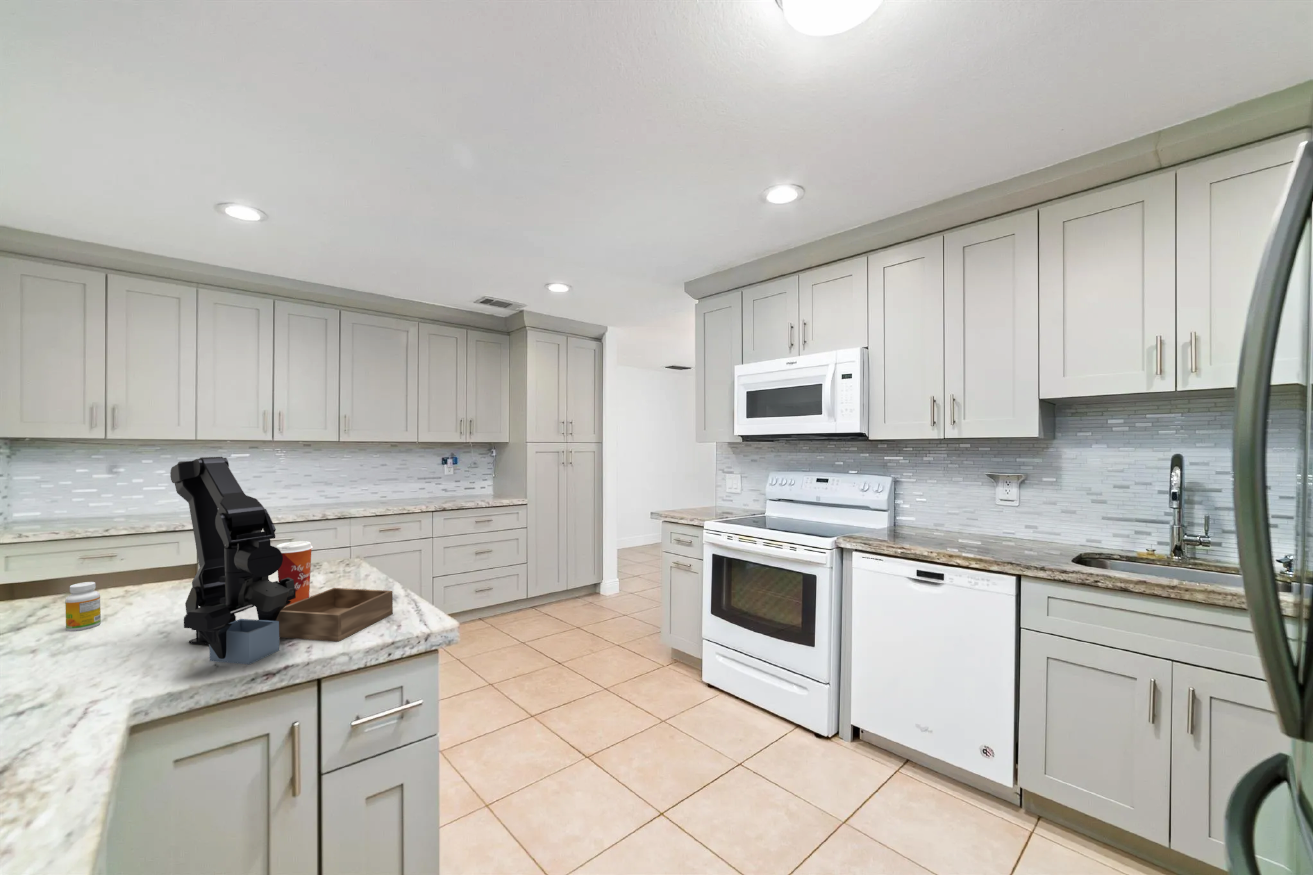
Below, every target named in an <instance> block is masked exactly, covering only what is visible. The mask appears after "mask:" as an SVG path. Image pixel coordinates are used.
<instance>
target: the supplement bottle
mask: <svg viewBox="0 0 1313 875" xmlns="http://www.w3.org/2000/svg"><path fill="white" fill-rule="evenodd" d="M69 593H71V594H69V595H68V596H66V597H65V603H64V604H65V605H64V606H65V630H66V631H69V632H79V631H83V630H88V629H92V628H95V627H97V626H99V625H100V624H101V622H102V619H101V618H102V617H101V594H100V592H99V591H97V590H96V582H94V581H85V582H78V583H75V584H72V585H70V586H69Z"/></svg>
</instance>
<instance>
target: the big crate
mask: <svg viewBox="0 0 1313 875" xmlns="http://www.w3.org/2000/svg"><path fill="white" fill-rule="evenodd" d="M393 599H394V598H393V590H384V589H383V590H382V589H381V590H380V589H366V588H365V589H364V588H363V589H362V588H347V587H346V588H345V587H342V588H341V587H332V588H329V589H327V590H325V591H322V592H319V593H317V594H314V595H311V596H309V597H308V598H306V599H303V600H300V601H298V602H295V603H293V604H290V605H287V606H285V607H284V608H283V609H282V610H281V611H280V612H279V615H278V617H277V619H276V621H279V638H285V639H297V640H310V641H311V640H313V641H314V640H315V641H327V642H341V641H342V640H344V639H346V638H349V637H350V636H351V635H354V634H356V633H358V632H360V631H362V630H363V629H366V628H367V627H370V626H372V625H374V624H376V623H377V622H379V621H381V620H384V619H385V618H387V617H390V616H391V615H393V613H394V609H393V608H394V606H393V604H394V603H393V602H394V601H393Z"/></svg>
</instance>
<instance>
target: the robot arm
mask: <svg viewBox="0 0 1313 875" xmlns="http://www.w3.org/2000/svg"><path fill="white" fill-rule="evenodd" d="M169 473H170V474H169V475H170V481H171V483H172V484H174V487H175V491H176V494H177V495H179V497H181V498H182V499H183V500H185V501H186V502H187V503H188V507H189V508H188V509H189V513H190V520H191V525H192V530H193V535H194V541H195V542H194V543H195V548H196V552H197V553H196V554H197V559H198V564H199V568H198V570H197V572H196V574H194V575H195V576H194V577H193V579H192V582H191V586H192V587H191V589H190V590H189V593H188V596H187V598H186V600H185V612H186V614H185V616H183V628H184V629H191V631H195V638H192V639H190V640H188V644H192V645H193V644H195V645H206V646H207V645H208V646H209V645H210V646H211V648H212V649H213V650H214V652H215V653H216V655H217V656H218V658H219V659H224V658H225V657H226V633H227V630H228V629H229V628H230V626H231V625H232V624H230V623H231V622H233V621H236V620H237V616H236V614H237V613H240V611H241V612H243V611H246V610H248V609H251V608H252V607H255V609H256V614H257V618H258V619H257V620H268V621H276V619H277V617H278V615H279V612H280V611H281V610H282V609H283V608H284V607H285V606H286V605H288V604H290V602H291V601H289V600H292V599H295V598H296V589H295V586H294V580H293V579H291V578H289V577H288V578H285V579H282V580H280V581H279V580H275V581H270V579H269V576H272V575H274V574H276V572H278V569H279V568H280V567H281V565H282V562H283V555H282V554H281V552H280V550H279V549H278V548H276V546H273V545H271V543H272V542H271V540H272V539H275V538H276V534H275V533H276V530H277V529H276V526H275V524H274V522H273V520H272V518H271V516H270V514H269V511H268V510H267V508H265V507H264V505H263V504H262V503H261V502H260V501H259V500H258V499H257V498H255V497H252V496H249V495H247V494H246V493H245V492H244V490H243V489H242V487H241V485H240V483H239V482H238V480H237V479H236V477H235V475H234V474H233V472H232V470H231V469H230V463H229V460H228V458H227V457H223V456H209V457H208V456H207V457H206V456H205V457H200V458H195V459H194V460H184V461H178V462H177V464H175V465H173V466H171V469H170V472H169ZM239 606H240V607H239ZM236 607H237V608H236ZM245 609H246V610H245ZM242 610H243V611H242Z"/></svg>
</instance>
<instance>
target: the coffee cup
mask: <svg viewBox="0 0 1313 875" xmlns="http://www.w3.org/2000/svg"><path fill="white" fill-rule="evenodd" d="M275 547H276V548H278V549H279V550H280V552H281V554H282V555H283V562H282V565H281V567H280V568H279V569H278V570H277V581H278V582H279V581H280V580H282V579H285V578H288V577H289V578H291V579H293V580H294V586H295V589H296V598H295V599H292V600H289V601H291V602H290V604H293V603H295V602H298V601H300V600H303V599H306V598H308V597H310V586H311V568H312V567H311V566H312V565H311V564H312V549H313V548H314V546H313V545H312V542H311V541H306V540H298V541H290V542H289V541H288V542H283V543H279V544H277V545H276V546H275ZM290 604H288V605H290ZM286 606H287V605H286Z"/></svg>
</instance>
